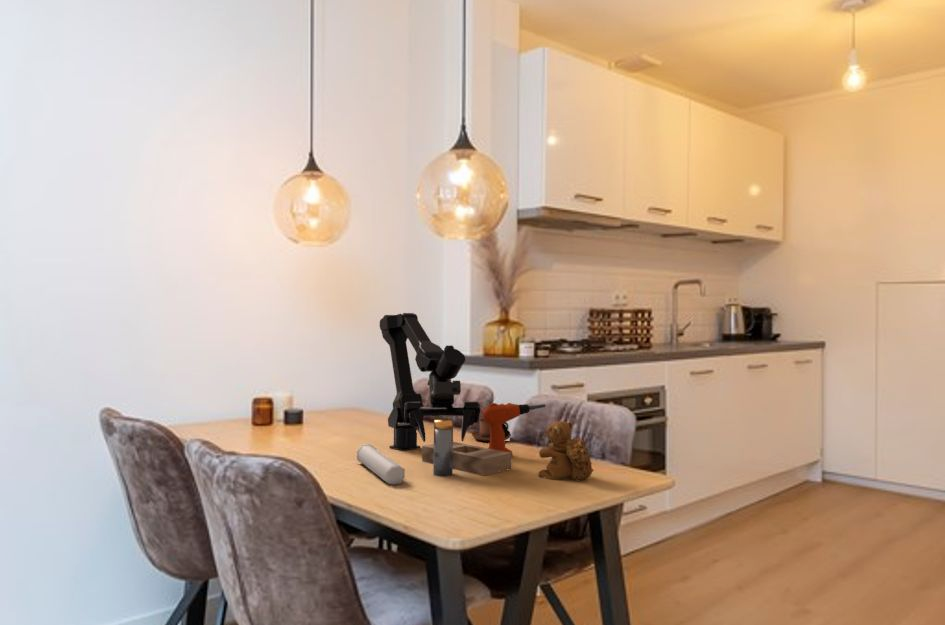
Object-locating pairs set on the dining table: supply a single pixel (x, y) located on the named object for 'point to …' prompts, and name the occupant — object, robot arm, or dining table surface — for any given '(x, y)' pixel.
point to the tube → (380, 464)
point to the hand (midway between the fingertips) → (443, 440)
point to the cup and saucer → (485, 432)
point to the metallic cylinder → (443, 447)
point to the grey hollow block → (473, 458)
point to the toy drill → (503, 421)
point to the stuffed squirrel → (565, 454)
